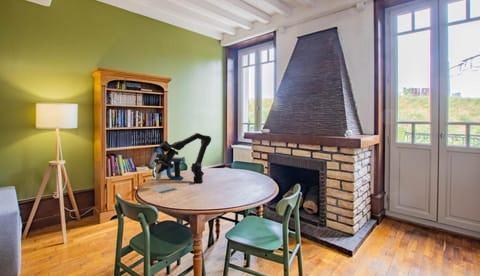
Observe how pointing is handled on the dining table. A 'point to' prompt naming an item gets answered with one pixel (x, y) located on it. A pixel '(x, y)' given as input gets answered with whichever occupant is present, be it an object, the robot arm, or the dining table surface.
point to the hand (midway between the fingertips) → (156, 172)
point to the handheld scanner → (175, 168)
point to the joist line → (167, 190)
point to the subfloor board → (162, 188)
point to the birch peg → (158, 176)
